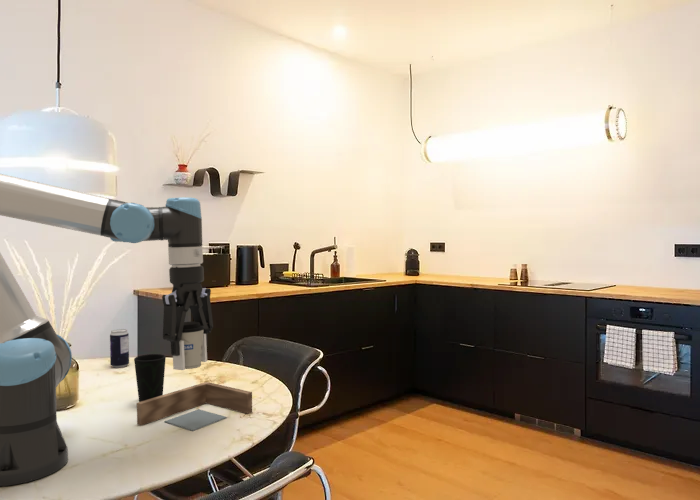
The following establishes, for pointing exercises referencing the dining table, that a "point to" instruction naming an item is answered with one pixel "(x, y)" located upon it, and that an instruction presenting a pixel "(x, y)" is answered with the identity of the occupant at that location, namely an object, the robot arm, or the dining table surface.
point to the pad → (195, 419)
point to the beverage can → (119, 348)
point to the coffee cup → (192, 343)
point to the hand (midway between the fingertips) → (190, 365)
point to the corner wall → (193, 401)
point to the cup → (150, 375)
